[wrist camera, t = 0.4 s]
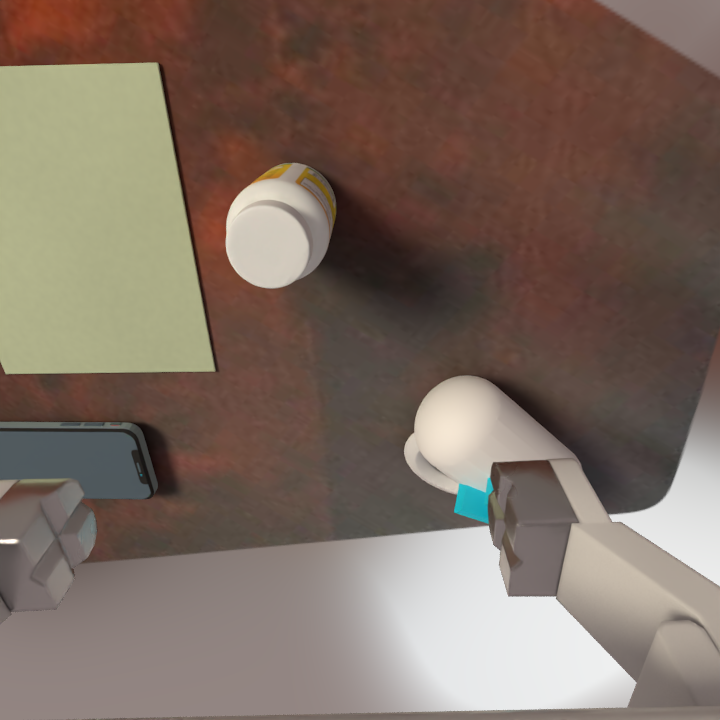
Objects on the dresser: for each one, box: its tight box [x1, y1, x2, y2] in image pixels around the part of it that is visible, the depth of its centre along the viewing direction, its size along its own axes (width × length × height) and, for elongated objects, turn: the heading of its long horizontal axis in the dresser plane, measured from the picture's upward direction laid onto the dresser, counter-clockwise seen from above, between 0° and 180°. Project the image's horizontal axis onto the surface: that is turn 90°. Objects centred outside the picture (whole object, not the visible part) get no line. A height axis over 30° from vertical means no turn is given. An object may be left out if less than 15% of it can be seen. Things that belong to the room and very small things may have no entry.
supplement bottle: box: [226, 163, 336, 288], centre depth 27 cm, size 5×5×10 cm
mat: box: [0, 63, 216, 374], centre depth 33 cm, size 20×16×1 cm
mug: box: [404, 375, 582, 524], centre depth 37 cm, size 12×9×12 cm
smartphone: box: [0, 422, 158, 499], centre depth 41 cm, size 8×2×15 cm
